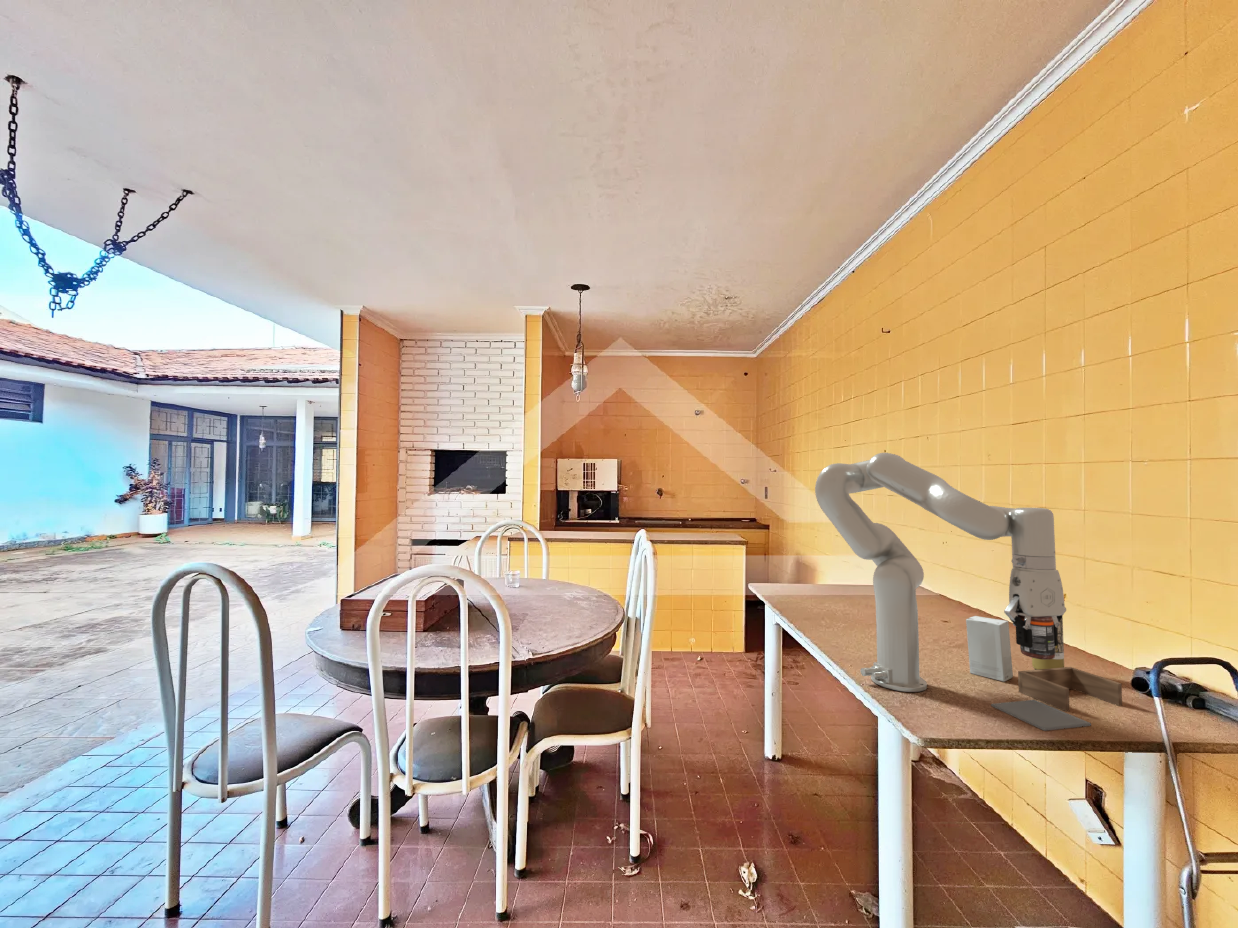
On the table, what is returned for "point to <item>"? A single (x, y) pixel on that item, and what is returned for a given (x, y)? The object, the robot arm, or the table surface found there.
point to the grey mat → (1040, 715)
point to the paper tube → (1059, 653)
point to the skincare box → (989, 648)
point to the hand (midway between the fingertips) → (1036, 644)
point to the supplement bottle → (1041, 638)
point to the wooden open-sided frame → (1067, 686)
